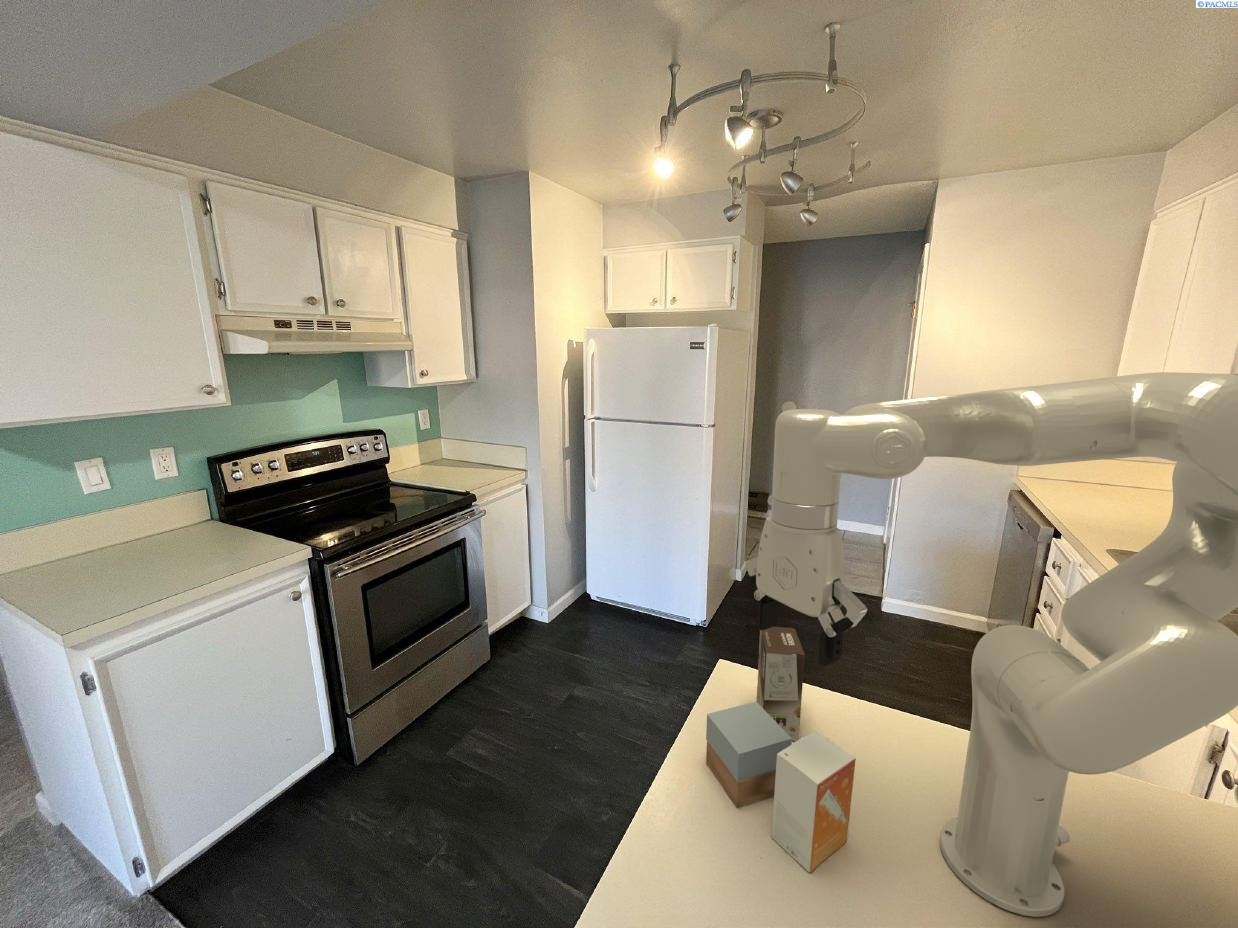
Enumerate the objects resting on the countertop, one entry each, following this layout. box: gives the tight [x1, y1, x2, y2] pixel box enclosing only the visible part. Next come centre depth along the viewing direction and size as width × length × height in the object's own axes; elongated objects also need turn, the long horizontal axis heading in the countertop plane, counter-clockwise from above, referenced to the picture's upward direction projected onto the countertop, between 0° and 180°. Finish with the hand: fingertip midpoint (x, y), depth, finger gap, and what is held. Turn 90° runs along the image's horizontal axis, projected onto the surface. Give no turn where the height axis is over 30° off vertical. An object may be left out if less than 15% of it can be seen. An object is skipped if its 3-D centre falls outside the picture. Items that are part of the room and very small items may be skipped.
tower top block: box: [705, 701, 793, 782], centre depth 79 cm, size 9×9×4 cm
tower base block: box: [705, 740, 776, 809], centre depth 79 cm, size 9×9×4 cm
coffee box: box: [756, 626, 806, 742], centre depth 90 cm, size 9×6×16 cm
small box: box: [770, 730, 856, 873], centre depth 68 cm, size 8×6×13 cm
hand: (796, 643), depth 65 cm, fingers open, 9 cm apart
